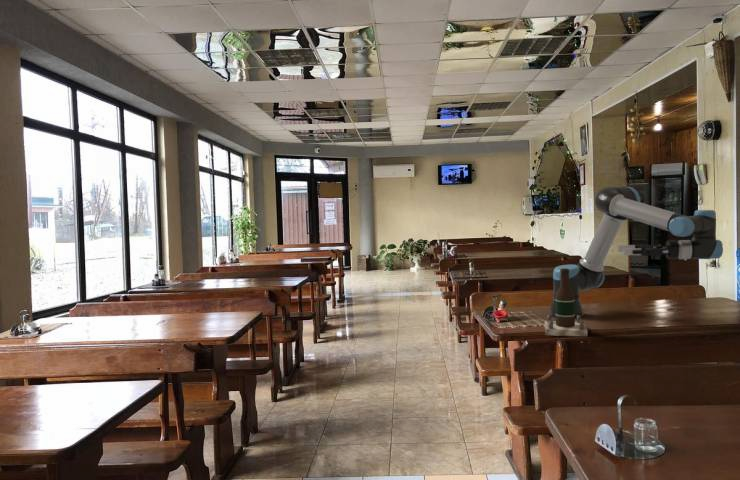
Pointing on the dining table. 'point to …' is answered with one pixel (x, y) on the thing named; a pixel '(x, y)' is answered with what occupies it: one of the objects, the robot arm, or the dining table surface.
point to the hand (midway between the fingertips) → (620, 250)
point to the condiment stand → (565, 328)
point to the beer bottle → (565, 302)
